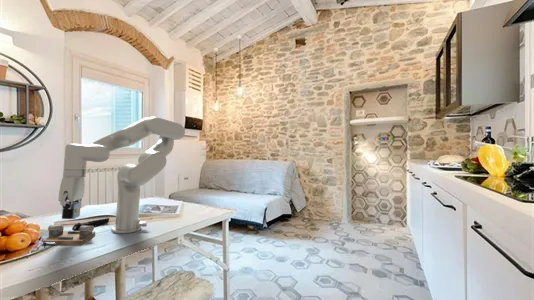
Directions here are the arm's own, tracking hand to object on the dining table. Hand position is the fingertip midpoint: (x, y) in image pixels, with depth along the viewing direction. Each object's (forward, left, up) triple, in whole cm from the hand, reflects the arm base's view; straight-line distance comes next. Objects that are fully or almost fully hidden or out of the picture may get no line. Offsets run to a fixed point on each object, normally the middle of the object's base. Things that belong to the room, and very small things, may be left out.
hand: (70, 216), depth 106 cm
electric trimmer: (0, -18, -10) cm, 21 cm away
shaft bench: (0, 0, -10) cm, 10 cm away
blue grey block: (0, 0, 0) cm, 0 cm away
